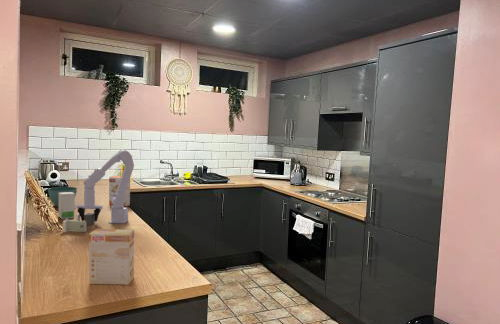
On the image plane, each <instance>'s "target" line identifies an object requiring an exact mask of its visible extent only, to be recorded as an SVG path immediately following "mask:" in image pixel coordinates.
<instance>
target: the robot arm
mask: <svg viewBox="0 0 500 324" xmlns="http://www.w3.org/2000/svg"><path fill="white" fill-rule="evenodd" d="M120 162H122V163H123V165H124V166H125V167H124V170H123V171H122V174H121V176H120V177H121V180H120V183H119V186H118V189H117V191H116V193H115V195H114V196H113V197H112V199H111V202H112V204H113V205H111V207H110V209H111V210H110V217H111V218H110V219H111V220H110V221H108V223H109V224H126V223H127V222H129V209H128V207H124V206H123V205H124V196H125V191H126V188H127V185H128V183H129V180H130V181H131V176H132V174H133V171H134V167H135V164H134V161H133V155H132V154H131V153H130V152H129V151H128V150H126V149H120V150H119V151H118V152H116V153H115V154H114V155H113V156H111V157H110V159H108V160H107V161H106V163H104V165H102V167H98V168H95V169H93V172H91V174H89V175H87V178H85V179H84V181H83V185H84V191H83V199H84V201H83V204H77V205H76V204H75V207H76V209H77V212H78V214H80V221H84V215H86V210H87V209H88V210H93V213H94V216H95V219H94V220H95V223H96V222H98V219H99V215H100V213H101V211H102V210H103V205H98V204H96V202H95V201H96V199H95V198H96V197H95V194H96V193H95V192H96V191H95V186H96V183H99V181H100V180H101V179H102V178H104V177H105V176H106V172H107V171H108V170H109V169H110V168H111V167H113V166H114V165H115V164H116V163H120Z"/></svg>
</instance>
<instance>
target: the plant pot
mask: <svg viewBox="0 0 500 324" xmlns="http://www.w3.org/2000/svg"><path fill="white" fill-rule="evenodd" d="M77 191H78V188H77V187H73V186H57V187H56V186H55V187H51V188H48V189H47V193H48V196H49V199H50V200H51V202H52V204H53V205H54V206H56V207H58V208H59V194H58V193H63V192H73V193H75V197H76V195H77Z"/></svg>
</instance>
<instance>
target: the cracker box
mask: <svg viewBox="0 0 500 324" xmlns="http://www.w3.org/2000/svg"><path fill="white" fill-rule="evenodd" d="M121 177H122V176H118V175H113V176H109V178H108V184H109V185H108V188H109V189H108V203H109V204H108V205H110V206H112V205H113V204H112V202H111V199H112V197H113V196H114V195H115V193H116V191H117V189H118V186H119V183H120V180H121ZM130 196H131V179H130V180H129V183H128V185H127V188H126V191H125V196H124V205H123V206H126V207H129V206H131V197H130Z"/></svg>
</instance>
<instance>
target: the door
mask: <svg viewBox="0 0 500 324" xmlns="http://www.w3.org/2000/svg"><path fill="white" fill-rule="evenodd" d="M68 230H69V231H73V232H81V233H82V232H84V233H85V232H87V225H86V221H82V220H80V221H76V219H75V220H73V219H68Z"/></svg>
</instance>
